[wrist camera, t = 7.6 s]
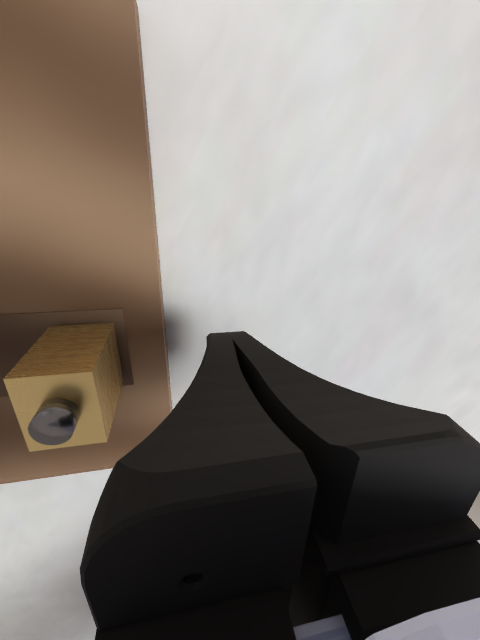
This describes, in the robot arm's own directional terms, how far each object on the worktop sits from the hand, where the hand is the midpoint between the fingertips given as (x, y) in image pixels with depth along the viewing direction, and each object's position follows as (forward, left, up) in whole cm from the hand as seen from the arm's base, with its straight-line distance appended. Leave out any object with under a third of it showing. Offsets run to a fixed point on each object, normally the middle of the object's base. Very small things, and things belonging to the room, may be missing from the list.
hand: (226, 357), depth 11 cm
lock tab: (0, +5, -1) cm, 5 cm away
